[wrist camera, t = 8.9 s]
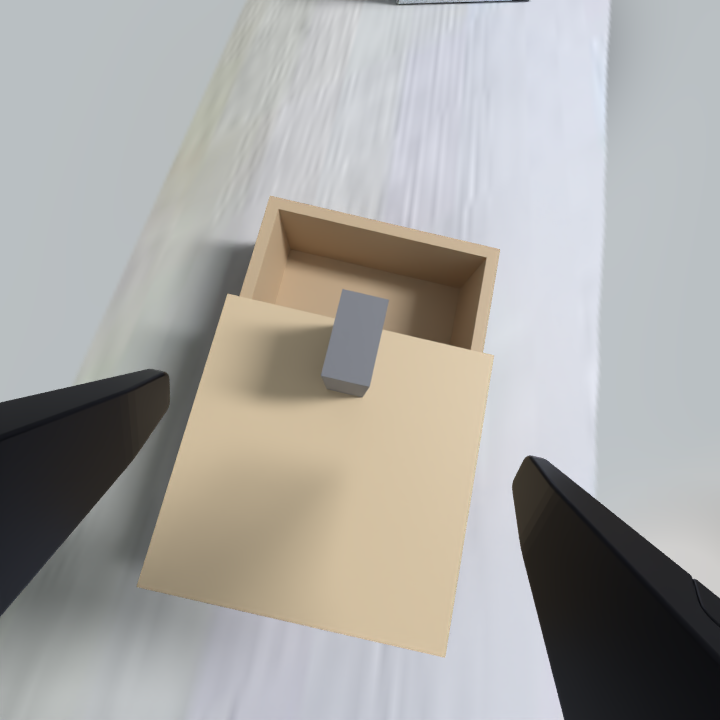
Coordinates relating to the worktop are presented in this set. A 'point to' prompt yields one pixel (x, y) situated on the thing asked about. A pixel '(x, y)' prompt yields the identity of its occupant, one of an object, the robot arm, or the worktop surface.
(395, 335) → the sliding lid
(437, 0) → the light bulb box
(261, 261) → the wooden box
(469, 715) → the worktop surface
